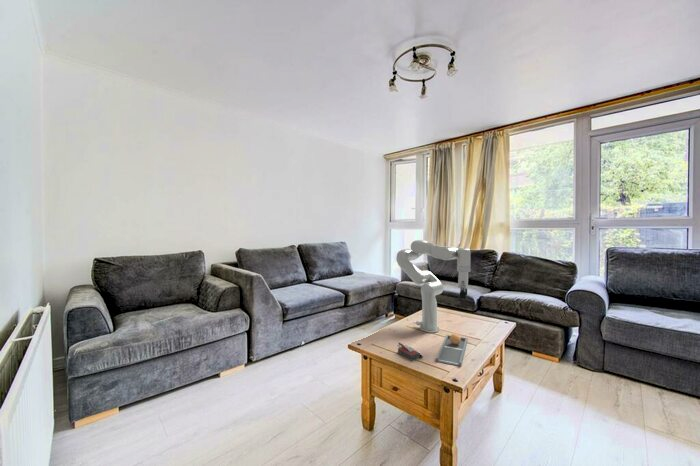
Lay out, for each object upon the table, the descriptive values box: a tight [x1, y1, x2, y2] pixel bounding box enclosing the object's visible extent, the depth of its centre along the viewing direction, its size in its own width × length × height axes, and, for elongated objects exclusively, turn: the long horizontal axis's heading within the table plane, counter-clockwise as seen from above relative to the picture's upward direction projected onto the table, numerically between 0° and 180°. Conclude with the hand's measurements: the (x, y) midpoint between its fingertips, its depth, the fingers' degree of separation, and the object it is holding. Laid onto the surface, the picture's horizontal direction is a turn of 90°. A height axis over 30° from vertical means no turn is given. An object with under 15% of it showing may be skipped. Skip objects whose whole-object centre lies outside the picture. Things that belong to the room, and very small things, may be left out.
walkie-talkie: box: [397, 342, 423, 362], centre depth 158 cm, size 9×4×20 cm
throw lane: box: [435, 334, 468, 367], centre depth 160 cm, size 12×35×2 cm, turn 153°
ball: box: [450, 333, 461, 345], centre depth 167 cm, size 6×6×6 cm
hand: (463, 296), depth 175 cm, fingers open, 9 cm apart
